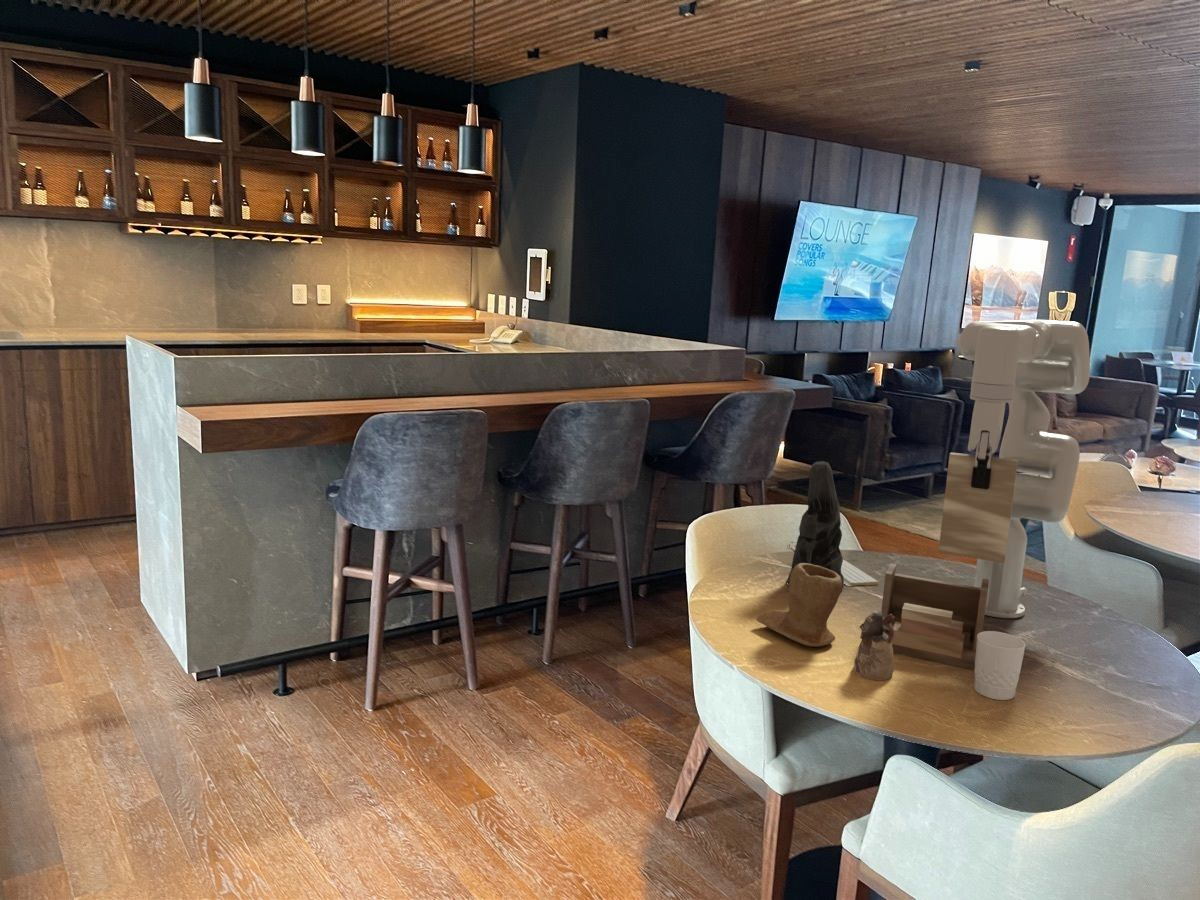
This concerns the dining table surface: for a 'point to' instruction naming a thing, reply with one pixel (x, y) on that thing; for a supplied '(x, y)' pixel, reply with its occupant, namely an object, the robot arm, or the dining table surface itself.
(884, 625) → the figurine
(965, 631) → the walnut rack
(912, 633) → the offcut bundle
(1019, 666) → the white cup
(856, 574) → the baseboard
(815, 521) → the dark tapered sculpture
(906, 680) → the dining table surface
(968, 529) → the birch sheet
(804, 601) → the clay boot figure
